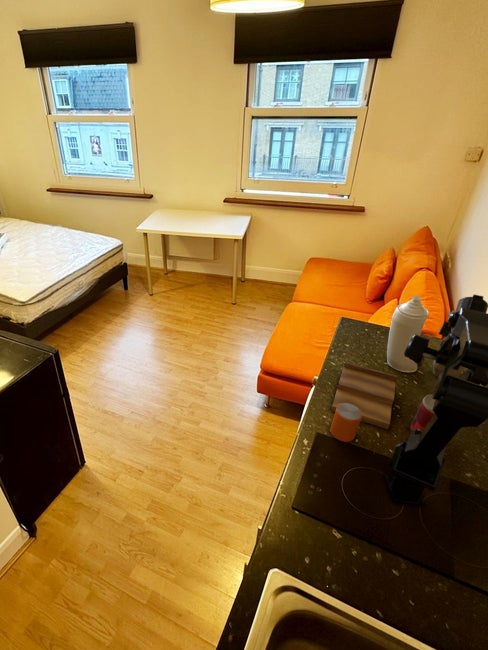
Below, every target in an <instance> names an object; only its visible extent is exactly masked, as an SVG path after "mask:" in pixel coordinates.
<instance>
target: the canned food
mask: <svg viewBox="0 0 488 650" xmlns="http://www.w3.org/2000/svg"><path fill="white" fill-rule="evenodd" d="M432 397H433V394H427V395H425V396H424V398H423V399H422V401H421V402H420V404H419V407H418V409H417V411H416V413H415V415H414V418H413V420H412V422H411V424H410V433H411V432H412V430H414V429H416V430H419V431H423V430H424V428H425V427H426V425H427V424H428V422H429V421H430V420H431V418H432V417H433V415H434V414H435V413H434V412H433V410H432V409H433V406H434V402H435V399H432Z"/></svg>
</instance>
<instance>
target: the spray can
mask: <svg viewBox="0 0 488 650" xmlns="http://www.w3.org/2000/svg"><path fill="white" fill-rule="evenodd" d="M421 300H422V298H421V297H420V295H412V299H410V300H409V301H407V302H402V303H399V304H397V306H396V307H395V309H394V311H393V314H392V316H391V322H390V328H389V332H388V340H387V348H386V360H387V361H386V362H387V364H388V365H389V367H391V368H392V369H394V370H395V371H398V372H402V373H414V372H416V371H417V370H418V365H417V364H416V363H415V362H414V361H413V360H410V359H409V358H408V357H405V355H404V352H405V350H406V348H407V346H408V344H409V342H410V340H411V337H412V336H413V335H415V334H416V335H419V336H422V335H421V334H422V332H423V328H424V325H425V323H426V321H427V319H428V318H429V310H428V309H427V308H426V307H424V306H423V304H422V301H421Z"/></svg>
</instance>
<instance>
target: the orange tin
mask: <svg viewBox="0 0 488 650" xmlns="http://www.w3.org/2000/svg"><path fill="white" fill-rule="evenodd" d="M361 419H362V412H361V410H360V409H359V408H358V407H356V406H354V405H352V404H348V403H342V404H339V405H338V406H337V408H336V411H335V412H334V414H333V418H332V420H331V425H330V428H329V431H330V434H331V435H332V436H333V438H335V439H337V440H338V441H341V442H343V443H344V442H345V443H346V442H352V441H353V440H355V438H356V435H357V432H358V430H359V428H360V424H361V422H362V421H361Z"/></svg>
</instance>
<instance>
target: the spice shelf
mask: <svg viewBox="0 0 488 650" xmlns="http://www.w3.org/2000/svg"><path fill="white" fill-rule="evenodd" d="M397 380H398V375H395V374H391V373H389V372H385V371H381V370H377V369H374V368H369V367H367V366H362V365H358V364H354V363H351V362H348V361H345V362H344V364H343V368H342V371H341V375H340V378H339V381H338V385H337V389H336V392H335V396H334V399H333V403H332V405H331V409H330V411H331V412H333V413H335V411H336V408H337V406H338V405H339V404H342V403H348V404H352V405H354V406H356V407H358V408H359V409H360V410H361V412H362V419H361V422H364V423H367V424H370V425H373V426H376V427H379V428H383V429H385V430H388V429H389V427H390V426H391V417H392V409H393V408H392V407H393V405H394V401H395V394H396V384H397Z"/></svg>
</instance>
